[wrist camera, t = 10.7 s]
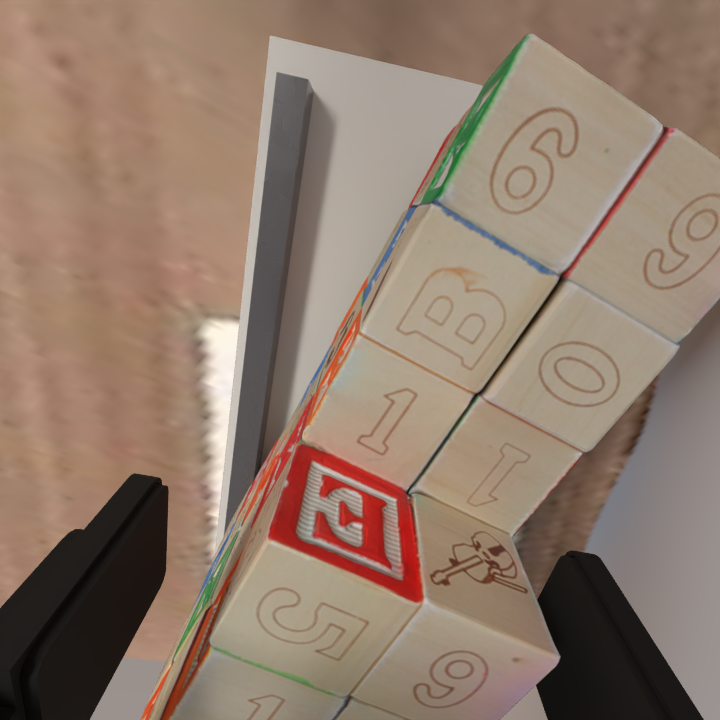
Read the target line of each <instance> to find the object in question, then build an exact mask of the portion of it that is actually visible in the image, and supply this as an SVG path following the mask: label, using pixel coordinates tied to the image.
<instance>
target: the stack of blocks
mask: <svg viewBox="0 0 720 720" xmlns="http://www.w3.org/2000/svg"><path fill="white" fill-rule="evenodd" d="M719 298H720V158H718V157H717V156H716V155H714V154H713V153H712V152H710V151H709V150H707V149H706V148H705V147H703V146H702V145H700V144H699V143H697V142H696V141H695V140H693V139H692V138H690V137H689V136H687V135H686V134H685V133H683V132H682V131H680V130H679V129H674V128H667V127H664V126H663V125H662V124H661V123H660V122H659V121H658V120H657V119H656V118H654V117H653V116H652V115H650V114H649V113H647V112H646V111H645V110H643V109H642V108H640V107H639V106H638V105H636V104H635V103H633V102H632V101H631V100H629V99H628V98H626V97H625V96H624V95H622V94H621V93H619V92H618V91H616V90H615V89H613V88H612V87H611V86H609V85H608V84H606V83H605V82H603V81H602V80H600V79H598V78H597V77H595V76H593V75H592V74H590V73H588V72H587V71H586V70H585V69H583V68H582V67H581V66H580V65H578V64H577V63H576V62H574V61H573V60H571V59H569V58H568V57H566V56H565V55H563V54H562V53H561V52H559V51H558V50H557V49H555V48H554V47H553V46H551V45H549V44H548V43H546V42H545V41H543V40H542V39H540V38H539V37H537V36H536V35H534V34H532V33H531V34H529V35H526V36H525V37H524V38H523V39H522V40H521V41H520V42H519V43H518V44H517V45H516V47H515V48H514V49H513V50H512V51H511V53H510V54H509V55H508V56H507V57H506V59H505V60H504V61H503V62H502V63H501V65H500V66H499V67H498V68H497V69H496V71H495V72H494V73H493V74H492V75H491V77H490V78H489V79H488V80H487V82H486V83H485V85H484V86H483V88H482V90H481V91H480V93H479V95H478V97H477V99H476V101H475V102H474V103H473V105H472V106H471V107H470V108H469V109H468V110H467V111H466V112H465V114H464V115H463V116H462V118H461V119H460V121H459V122H458V124H457V125H456V126H455V127H454V128H453V129H452V130H451V131H450V133H449V134H448V135H447V137H446V138H445V140H444V142H443V144H442V146H441V147H440V149H439V151H438V153H437V155H436V157H435V159H434V161H433V162H432V164H431V166H430V168H429V170H428V172H427V174H426V175H425V177H424V179H423V181H422V183H421V185H420V187H419V188H418V190H417V192H416V194H415V196H414V198H413V199H412V201H411V203H410V205H409V208H408V210H406V211H404V212H403V213H402V215H401V216H400V218H399V220H398V222H397V224H396V225H395V227H394V229H393V231H392V233H391V234H390V236H389V238H388V240H387V242H386V244H385V245H384V247H383V249H382V251H381V253H380V254H379V256H378V258H377V260H376V262H375V264H374V265H373V267H372V269H371V271H370V273H369V275H368V277H367V278H366V280H365V281H364V283H363V285H362V287H361V288H360V290H359V292H358V294H357V296H356V297H355V299H354V301H353V303H352V305H351V306H350V308H349V310H348V312H347V314H346V315H345V317H344V319H343V321H342V323H341V325H340V326H339V328H338V330H337V332H336V334H335V337H334V340H333V342H332V344H331V346H330V348H329V349H328V351H327V353H326V355H325V357H324V358H323V360H322V362H321V364H320V366H319V367H318V369H317V371H316V373H315V374H314V376H313V378H312V380H311V382H310V383H309V385H308V387H307V389H306V391H305V393H304V395H303V397H302V398H301V400H300V402H299V404H298V406H297V407H296V409H295V411H294V413H293V415H292V416H291V418H290V420H289V422H288V424H287V425H286V427H285V429H284V431H283V433H282V434H281V437H280V438H278V439H277V441H276V442H275V444H274V446H273V447H272V449H271V451H270V453H269V455H268V456H267V458H266V460H265V462H264V464H263V465H262V467H261V469H260V471H259V472H258V474H257V476H256V478H255V480H254V481H253V483H252V484H251V486H250V487H249V489H248V491H247V493H246V494H245V496H244V498H243V500H242V502H241V503H240V505H239V507H238V509H237V510H236V512H235V514H234V516H233V518H232V519H231V521H230V524H229V526H228V528H227V530H226V533H225V535H224V537H223V539H222V541H221V543H220V545H219V547H218V550H217V552H216V554H215V556H214V558H213V560H212V563H211V568H210V570H209V572H208V575H207V577H206V579H205V581H204V584H203V586H202V589H201V591H200V593H199V596H198V598H197V600H196V602H195V604H194V606H193V608H192V610H191V612H190V614H189V616H188V618H187V620H186V622H185V624H184V626H183V628H182V630H181V631H180V634H179V636H178V638H177V640H176V642H175V644H174V646H173V648H172V650H171V653H170V655H169V657H168V659H167V661H166V663H165V665H164V667H163V669H162V672H161V674H160V676H159V678H158V681H157V683H156V685H155V687H154V690H153V692H152V694H151V696H150V699H149V701H148V703H147V705H146V708H145V710H144V714H143V716H142V718H141V720H500V719H501V718H502V717H503V716H504V715H505V714H506V713H507V712H508V711H509V710H511V709H512V708H513V707H514V706H515V705H516V704H517V703H518V702H519V701H520V700H521V699H522V698H523V697H524V696H525V695H526V694H527V693H528V692H529V691H530V690H531V689H532V688H533V687H534V686H535V685H536V684H537V683H539V682H540V681H541V680H542V679H543V678H544V677H545V676H546V675H547V674H548V673H549V672H550V671H551V670H553V669H554V668H555V667H556V665H557V664H558V662H559V660H560V657H561V656H560V654H559V652H558V650H557V648H556V646H555V644H554V642H553V639H552V637H551V635H550V632H549V630H548V627H547V625H546V622H545V619H544V616H543V614H542V611H541V608H540V606H539V604H538V601H537V599H536V596H535V594H534V591H533V589H532V586H531V584H530V581H529V579H528V576H527V574H526V571H525V569H524V566H523V564H522V561H521V559H520V556H519V554H518V551H517V548H516V546H515V543H514V541H513V538H512V537H513V536H514V535H515V533H516V532H517V531H518V530H519V529H520V528H521V527H522V526H523V524H524V523H525V522H526V521H527V520H528V519H529V517H530V516H531V515H532V514H533V513H534V512H535V510H536V509H537V508H538V507H539V506H540V505H541V503H542V502H543V501H544V500H545V499H546V498H547V496H548V495H549V494H550V493H551V492H552V491H553V489H554V488H555V487H556V486H557V485H558V484H559V482H560V481H561V480H562V479H563V478H564V477H565V476H566V474H567V473H568V472H569V471H570V470H571V469H572V467H573V466H574V465H575V464H576V463H577V462H578V461H579V459H580V458H581V456H582V455H583V453H585V452H589V451H591V450H592V449H593V448H594V447H595V446H596V444H597V443H598V442H599V441H600V440H601V439H602V438H603V437H604V435H605V434H606V433H607V432H608V431H609V430H610V429H611V427H612V426H613V425H614V424H615V423H616V422H617V421H618V419H619V418H620V417H621V416H622V415H623V414H624V413H625V411H626V410H627V409H628V408H629V407H630V406H631V405H632V403H633V402H634V401H635V400H636V399H637V398H638V397H639V395H640V394H641V393H642V392H643V391H644V390H645V389H646V387H647V386H648V385H649V384H650V383H651V382H652V381H653V379H654V378H655V377H656V376H657V375H658V374H659V373H660V371H661V370H662V369H663V368H664V367H665V366H666V365H667V363H668V362H669V361H670V360H671V359H672V358H673V357H674V355H675V354H676V352H677V351H678V349H679V348H680V346H679V342H680V341H681V340H682V339H683V338H684V337H686V336H687V335H688V334H689V333H690V332H691V331H692V330H693V328H694V327H695V326H696V325H697V324H698V323H699V322H700V320H701V319H702V318H703V317H704V316H705V315H706V314H707V312H708V311H709V310H710V309H711V308H712V307H713V306H714V305H715V303H716V302H717V301H718V300H719Z"/></svg>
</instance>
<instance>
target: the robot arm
mask: <svg viewBox="0 0 720 720" xmlns="http://www.w3.org/2000/svg"><path fill="white" fill-rule="evenodd" d="M167 521H168V486H164V485H162V480H161V478H158V477H153V476H147V475H141V474H132V475H131V476H130V477H129V478H128V479H127V480H126V481H125V482H124V484H123V485H122V486H121V487H120V488H119V489H118V491H117V492H116V493H115V494H114V495H113V496H112V498H111V499H110V500H109V501H108V502H107V503H106V505H105V506H104V507H103V508H102V509H101V510H100V512H99V513H98V514H97V515H96V516H95V517H94V519H93V520H92V521H91V522H90V523H89V524H88V526H87V527H86V528H85V529H84V530H82V529H75V530H73V531H71V532H69V533H68V534H67V535H66V536H65V537H64V538H63V539H62V540H61V541H60V542H59V543H58V544H57V546H56V547H55V548H54V549H53V550H52V551H51V552H50V553H49V555H48V556H47V557H46V558H45V559H44V560H43V561H42V562H41V563H40V565H39V566H38V567H37V568H36V569H35V570H34V571H33V572H32V573H31V575H30V576H29V577H28V578H27V579H26V580H25V581H24V582H23V583H22V585H21V586H20V587H19V588H18V589H17V590H16V591H15V592H14V593H13V595H12V596H11V597H10V598H9V599H8V600H7V601H6V602H5V604H4V605H3V606H2V607H1V608H0V720H90V718H91V716H92V714H93V712H94V710H95V708H96V706H97V705H98V703H99V701H100V699H101V697H102V695H103V694H104V692H105V690H106V688H107V686H108V684H109V682H110V680H111V679H112V677H113V675H114V673H115V671H116V669H117V667H118V666H119V664H120V662H121V660H122V658H123V656H124V654H125V653H126V651H127V649H128V647H129V645H130V643H131V641H132V639H133V638H134V636H135V634H136V632H137V630H138V628H139V626H140V625H141V623H142V621H143V619H144V617H145V615H146V613H147V611H148V610H149V608H150V606H151V604H152V602H153V600H154V598H155V596H156V595H157V593H158V591H159V589H160V587H161V585H162V582H163V580H164V576H165V572H166V551H167ZM537 601H538V604H539V606H540V608H541V611H542V614H543V616H544V619H545V622H546V625H547V627H548V630H549V632H550V635H551V637H552V639H553V642H554V644H555V646H556V648H557V650H558V652H559V654H560V656H561V657H560V660H559V662H558V664H557V665H556V667H555V668H554V669H553V670H551V671H550V672H549V673H548V674H547V675H546V676H545V677H544V678H543V679H542V680H541V681H540V682H539V683H537V684H536V686H537V689H538V692H539V695H540V698H541V701H542V704H543V707H544V710H545V713H546V716H547V718H548V720H703V718H702V716H701V715H700V713H699V712H698V710H697V708H696V707H695V705H694V704H693V702H692V701H691V699H690V697H689V696H688V694H687V693H686V691H685V690H684V688H683V687H682V685H681V684H680V682H679V680H678V679H677V677H676V676H675V674H674V673H673V671H672V670H671V668H670V666H669V665H668V663H667V662H666V660H665V659H664V657H663V655H662V654H661V652H660V651H659V649H658V647H657V646H656V644H655V643H654V642H653V640H652V638H651V637H650V635H649V633H648V632H647V630H646V629H645V627H644V626H643V624H642V623H641V621H640V619H639V618H638V616H637V615H636V613H635V612H634V610H633V609H632V607H631V605H630V604H629V602H628V601H627V599H626V597H625V596H624V594H623V593H622V591H621V590H620V588H619V587H618V585H617V583H616V582H615V580H614V579H613V577H612V576H611V574H610V573H609V571H608V569H607V568H606V566H605V565H604V563H603V562H602V560H601V559H600V558H599V557H598V556H597V555H595V554H589V553H584V552H578V551H569V552H567V553H566V555H565V556H561V557H560V558H559V560H558V562H557V564H556V565H555V567H554V569H553V571H552V573H551V575H550V577H549V579H548V581H547V583H546V584H545V586H544V588H543V590H542V592H541V594H540V596H539V598H538V600H537Z"/></svg>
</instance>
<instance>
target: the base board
mask: <svg viewBox="0 0 720 720" xmlns="http://www.w3.org/2000/svg"><path fill="white" fill-rule="evenodd" d="M483 86H484V85H480V84H475V83H471V82H467V81H463V80H458V79H454V78H450V77H445V76H441V75H437V74H433V73H428V72H424V71H420V70H416V69H411V68H407V67H403V66H398V65H394V64H390V63H386V62H381V61H377V60H373V59H368V58H364V57H360V56H356V55H351V54H347V53H343V52H339V51H334V50H330V49H326V48H321V47H317V46H313V45H309V44H304V43H300V42H296V41H291V40H287V39H283V38H279V37H274V36H270V40H269V50H268V59H267V69H266V78H265V87H264V97H263V106H262V116H261V125H260V134H259V144H258V153H257V163H256V172H255V181H254V191H253V200H252V210H251V219H250V228H249V238H248V247H247V257H246V266H245V275H244V285H243V294H242V304H241V313H240V322H239V332H238V341H237V351H236V360H235V369H234V379H233V388H232V398H231V407H230V416H229V426H228V435H227V445H226V454H225V463H224V473H223V482H222V492H221V501H220V510H219V520H218V529H217V538H216V548H215V554H216V552H217V550H218V547H219V545H220V543H221V541H222V539H223V537H224V535H225V533H226V530H227V528H228V526H229V524H230V521H231V519H232V518H233V516H234V514H235V512H236V510H237V509H238V507H239V505H240V503H241V502H242V500H243V498H244V496H245V494H246V493H247V491H248V489H249V487H250V486H251V484H252V483H253V481H254V480H255V478H256V476H257V474H258V472H259V471H260V469H261V467H262V465H263V464H264V462H265V460H266V458H267V456H268V455H269V453H270V451H271V449H272V447H273V446H274V444H275V442H276V441H277V439H278V438H280V437H281V434H282V433H283V431H284V429H285V427H286V425H287V424H288V422H289V420H290V418H291V416H292V415H293V413H294V411H295V409H296V407H297V406H298V404H299V402H300V400H301V398H302V397H303V395H304V393H305V391H306V389H307V387H308V385H309V383H310V382H311V380H312V378H313V376H314V374H315V373H316V371H317V369H318V367H319V366H320V364H321V362H322V360H323V358H324V357H325V355H326V353H327V351H328V349H329V348H330V346H331V344H332V342H333V340H334V337H335V334H336V332H337V330H338V328H339V326H340V325H341V323H342V321H343V319H344V317H345V315H346V314H347V312H348V310H349V308H350V306H351V305H352V303H353V301H354V299H355V297H356V296H357V294H358V292H359V290H360V288H361V287H362V285H363V283H364V281H365V280H366V278H367V277H368V275H369V273H370V271H371V269H372V267H373V265H374V264H375V262H376V260H377V258H378V256H379V254H380V253H381V251H382V249H383V247H384V245H385V244H386V242H387V240H388V238H389V236H390V234H391V233H392V231H393V229H394V227H395V225H396V224H397V222H398V220H399V218H400V216H401V215H402V213H403V212H404V211H406V210H408V208H409V205H410V203H411V201H412V199H413V198H414V196H415V194H416V192H417V190H418V188H419V187H420V185H421V183H422V181H423V179H424V177H425V175H426V174H427V172H428V170H429V168H430V166H431V164H432V162H433V161H434V159H435V157H436V155H437V153H438V151H439V149H440V147H441V146H442V144H443V142H444V140H445V138H446V137H447V135H448V134H449V133H450V131H451V130H452V129H453V128H454V127H455V126H456V125H457V124H458V122H459V121H460V119H461V118H462V116H463V115H464V114H465V112H466V111H467V110H468V109H469V108H470V107H471V106H472V105H473V103H474V102H475V101H476V99H477V97H478V95H479V93H480V91H481V90H482V88H483Z"/></svg>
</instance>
